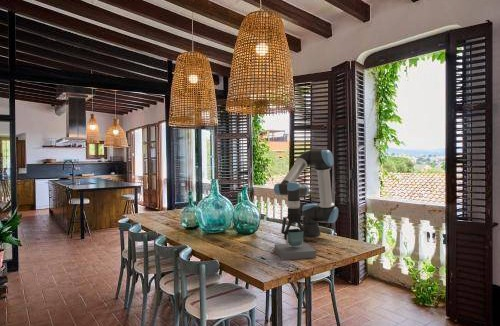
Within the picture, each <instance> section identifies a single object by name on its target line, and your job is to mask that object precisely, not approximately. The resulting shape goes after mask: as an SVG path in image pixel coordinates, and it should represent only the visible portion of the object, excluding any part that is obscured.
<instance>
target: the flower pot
mask: <svg viewBox="0 0 500 326" xmlns="http://www.w3.org/2000/svg"><path fill="white" fill-rule="evenodd" d="M287 234H288V244H290V245H291V246H300V244H301V243H302V240H303V241H304V239H303V231H301V230H300V228H292V229H291V228H289V230H288V233H287Z"/></svg>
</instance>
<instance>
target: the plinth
mask: <svg viewBox="0 0 500 326" xmlns="http://www.w3.org/2000/svg"><path fill="white" fill-rule="evenodd" d="M274 252H275V253H276V254H277V255H278V256H279V257H280V258H281V259H282V261H285V260H289V261H290V260H300V259H316V258H317V250H315V248H313V247H311V246H310V245H309V244H307V243H306V242H303V245H302V244H300V246H291V245H290V244H289V243H288V246H287V245H286V243H275V244H274Z"/></svg>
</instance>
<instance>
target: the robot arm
mask: <svg viewBox="0 0 500 326" xmlns="http://www.w3.org/2000/svg"><path fill="white" fill-rule="evenodd" d="M334 162H335V161H334V155H333V153H332V151H331V150H329V149H314V150H313V149H310V150H306V151H304V152H303V153H301V154H300V155H298V157H297V158H296V159H295V161H294V164H293V165H292V167H291V168H290V170H289V171H288V172H287V174H286V175H285V176H284V178H283V179H282V181H281V182H280V183H278V182H277V183H275V184H274V186H273V191H274V194H275V195H278V196H287V207H288V208H287V216H283V217H282V226H281V231H280V233H281V234H282V235H283V239H284V240H285V244H286V245H287V246H288V244H289V243H288V234H287V233H288V230H289V229H291V225H292V224H297V226H298V229H300V230H301V231H303V240H302V243H301V244H302V245H303V243H304V240H305V238H306V237H308V238H309V237H320V236H321V235H322V234H321V229H320V226H319V222H320V223H328V224H333V223H336V221H338V220H337V219H338V217H339V208H338V207H337V206H335V203H334V202H333V197H332V194H333V193H332V186H331V185H332V183H331V175H330V173H331V172H330V170H331V169H332V167H333V166H334ZM308 167H313V168H314V170H315V172H316V173H317V181H318V191H319V192H318V193H319V201H320V203H319V204H318V203H309V204H304V205H302V207H301V197H304V196H306V195H308V194H309V191H310V188H309V186H308V185H307V184H305V183H300V182H298V181H297V180H298V179H299V177H300V175H301V174H302V173H303V171H304V170H306V169H307V168H308ZM301 208H302V209H301ZM301 212H302V215H301ZM287 220H288V223H287ZM301 221H302V224H301ZM286 224H287V225H286Z"/></svg>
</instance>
